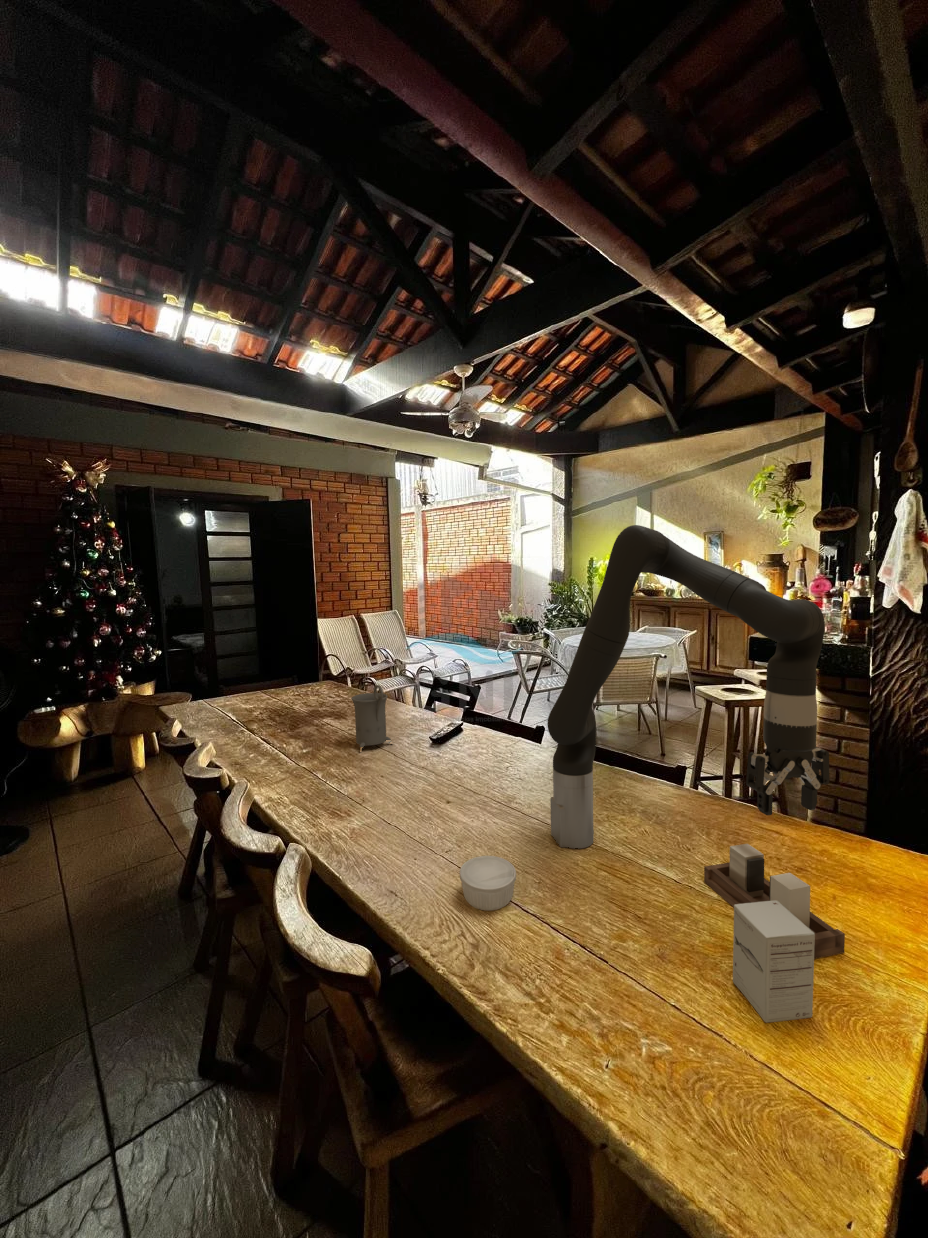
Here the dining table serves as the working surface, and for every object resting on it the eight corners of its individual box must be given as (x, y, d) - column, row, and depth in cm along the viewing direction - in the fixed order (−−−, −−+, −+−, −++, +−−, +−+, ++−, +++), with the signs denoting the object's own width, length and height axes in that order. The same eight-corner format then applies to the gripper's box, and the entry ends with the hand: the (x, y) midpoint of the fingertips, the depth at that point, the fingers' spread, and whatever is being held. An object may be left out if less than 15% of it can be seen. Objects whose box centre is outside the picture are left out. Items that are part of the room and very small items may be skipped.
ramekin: (500, 923, 90) (499, 895, 89) (449, 903, 96) (448, 877, 95) (526, 890, 99) (525, 864, 99) (478, 874, 105) (477, 850, 105)
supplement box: (730, 982, 75) (731, 902, 74) (776, 977, 76) (778, 898, 75) (764, 1025, 68) (765, 937, 67) (815, 1019, 68) (816, 932, 68)
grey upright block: (789, 935, 83) (790, 889, 82) (767, 917, 87) (767, 874, 87) (809, 931, 84) (810, 886, 83) (786, 914, 88) (787, 870, 88)
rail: (797, 962, 79) (798, 907, 78) (704, 881, 100) (704, 837, 99) (844, 952, 80) (845, 898, 80) (742, 875, 102) (743, 832, 101)
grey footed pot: (344, 745, 193) (341, 682, 191) (378, 737, 202) (375, 676, 200) (366, 757, 178) (363, 689, 177) (401, 748, 188) (399, 683, 186)
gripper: (770, 727, 79) (768, 826, 80) (846, 720, 81) (842, 816, 82) (736, 715, 86) (734, 805, 87) (806, 709, 89) (803, 797, 90)
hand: (787, 810), depth 85 cm, fingers open, 8 cm apart
